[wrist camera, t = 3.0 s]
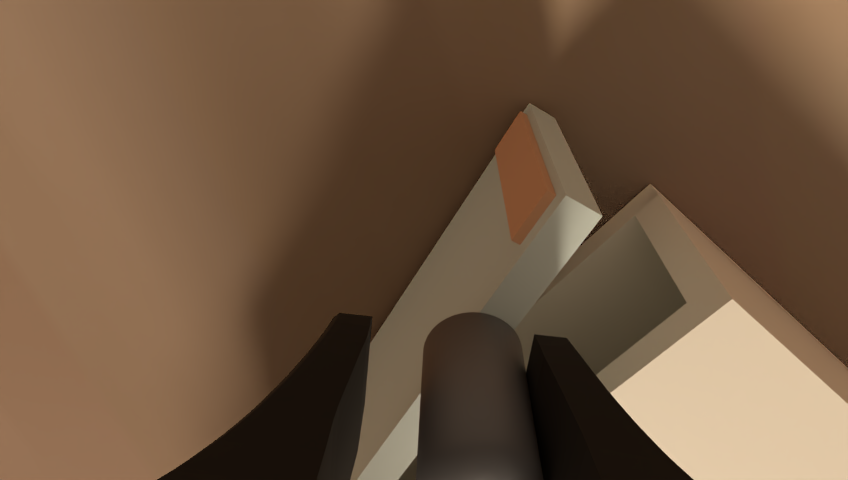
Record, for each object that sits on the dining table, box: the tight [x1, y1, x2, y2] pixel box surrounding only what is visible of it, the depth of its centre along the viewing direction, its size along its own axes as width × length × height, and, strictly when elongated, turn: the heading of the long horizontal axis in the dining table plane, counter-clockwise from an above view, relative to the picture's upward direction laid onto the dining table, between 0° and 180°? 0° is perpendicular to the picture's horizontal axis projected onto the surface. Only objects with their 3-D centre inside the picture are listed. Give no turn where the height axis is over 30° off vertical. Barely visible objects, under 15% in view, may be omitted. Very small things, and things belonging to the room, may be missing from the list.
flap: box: [350, 103, 602, 480], centre depth 16 cm, size 16×2×10 cm, turn 150°
